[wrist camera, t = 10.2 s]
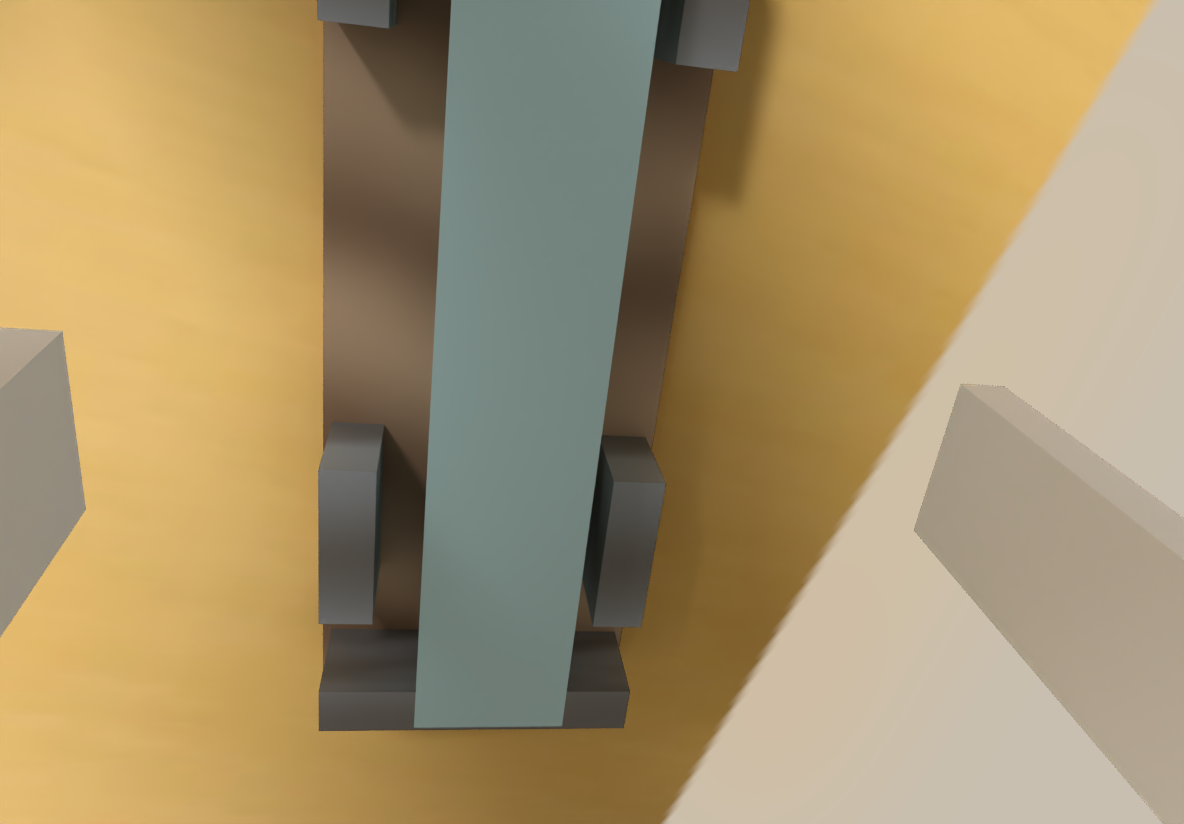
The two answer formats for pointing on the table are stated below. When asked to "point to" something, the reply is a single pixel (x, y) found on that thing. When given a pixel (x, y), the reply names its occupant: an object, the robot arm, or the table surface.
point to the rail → (524, 342)
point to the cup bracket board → (406, 338)
